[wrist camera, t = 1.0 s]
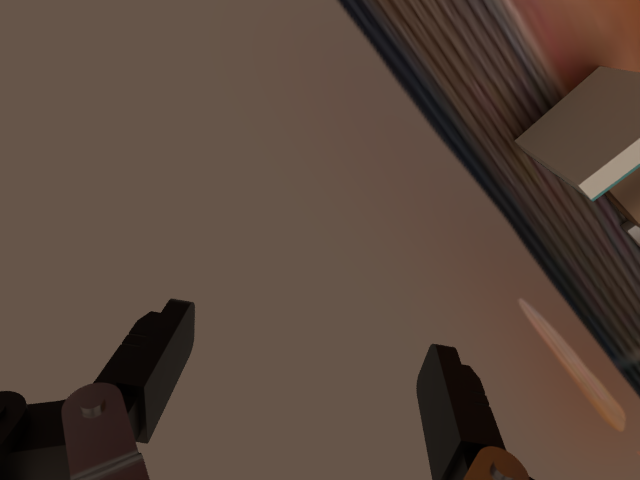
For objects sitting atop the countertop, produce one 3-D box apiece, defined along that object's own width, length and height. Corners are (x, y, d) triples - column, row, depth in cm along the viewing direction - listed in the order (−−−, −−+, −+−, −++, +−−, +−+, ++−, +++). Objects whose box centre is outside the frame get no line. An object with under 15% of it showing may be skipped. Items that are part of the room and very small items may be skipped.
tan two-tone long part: (556, 156, 36) (572, 166, 33) (604, 115, 34) (626, 123, 31) (648, 256, 40) (669, 273, 37) (695, 225, 38) (722, 240, 35)
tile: (599, 66, 32) (710, 84, 22) (611, 80, 32) (723, 104, 23) (514, 141, 35) (578, 185, 25) (525, 153, 36) (592, 201, 26)
